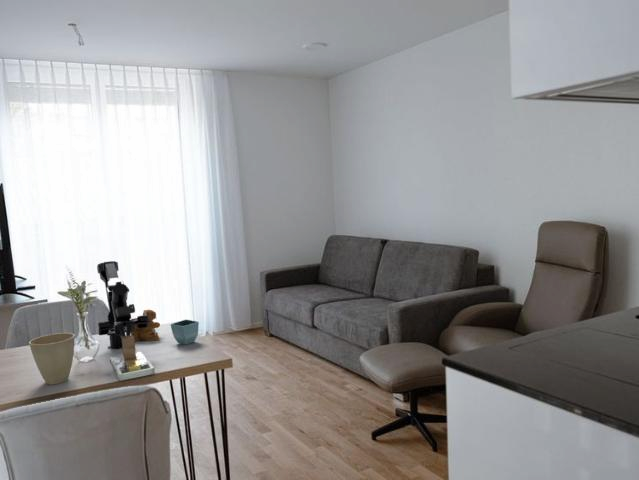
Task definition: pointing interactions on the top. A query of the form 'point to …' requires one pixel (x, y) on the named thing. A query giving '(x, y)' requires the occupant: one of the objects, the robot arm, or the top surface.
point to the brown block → (128, 349)
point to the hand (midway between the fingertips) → (127, 343)
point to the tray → (135, 372)
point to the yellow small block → (133, 366)
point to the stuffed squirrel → (148, 332)
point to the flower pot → (185, 331)
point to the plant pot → (54, 356)
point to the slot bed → (120, 362)
